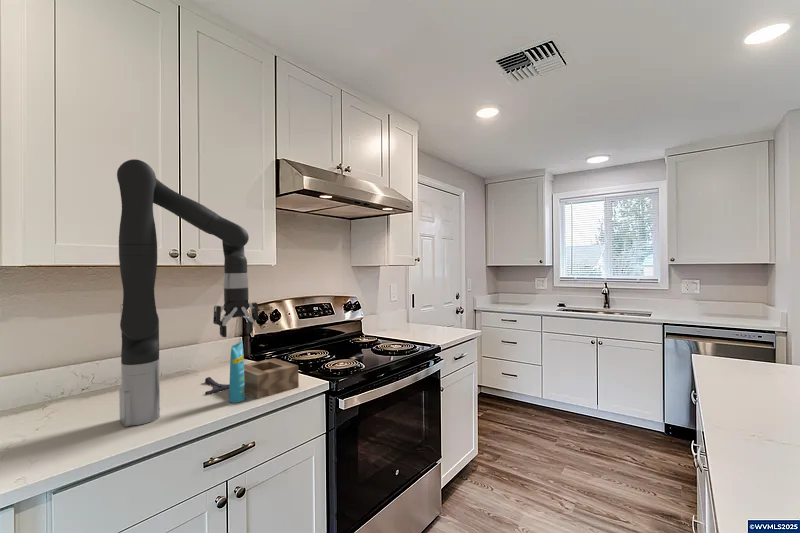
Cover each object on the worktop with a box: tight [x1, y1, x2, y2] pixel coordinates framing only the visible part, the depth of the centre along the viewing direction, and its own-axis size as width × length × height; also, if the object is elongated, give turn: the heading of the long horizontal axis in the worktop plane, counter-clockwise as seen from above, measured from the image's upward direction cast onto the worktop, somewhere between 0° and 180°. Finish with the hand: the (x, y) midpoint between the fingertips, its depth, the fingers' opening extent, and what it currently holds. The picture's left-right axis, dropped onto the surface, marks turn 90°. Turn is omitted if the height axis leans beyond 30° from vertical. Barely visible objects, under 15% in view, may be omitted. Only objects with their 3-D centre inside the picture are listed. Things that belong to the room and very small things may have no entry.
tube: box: [228, 340, 246, 403], centre depth 127 cm, size 7×5×19 cm, turn 3°
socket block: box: [244, 358, 300, 400], centre depth 139 cm, size 16×17×8 cm
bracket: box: [204, 376, 230, 396], centre depth 142 cm, size 14×15×3 cm
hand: (237, 335), depth 127 cm, fingers open, 8 cm apart
